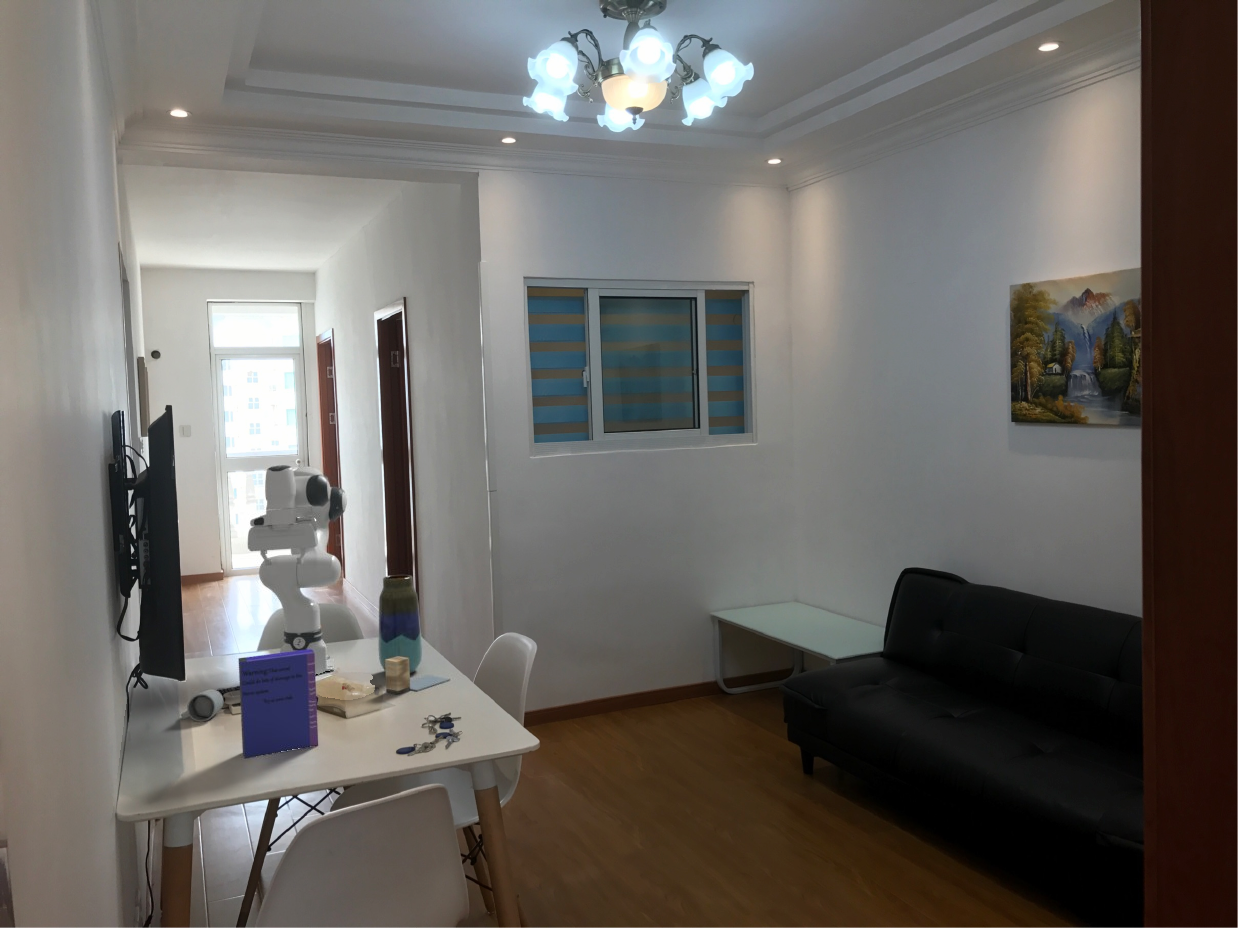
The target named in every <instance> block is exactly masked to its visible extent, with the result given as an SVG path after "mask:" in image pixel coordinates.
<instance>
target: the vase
mask: <svg viewBox="0 0 1238 928" xmlns="http://www.w3.org/2000/svg"><path fill="white" fill-rule="evenodd" d="M413 582H414V581H413V576H412V575H410V574H396V575H395V574H394V575H387V576H384V577H383V578H382V590H381V591H380V594H379V597H378V598H379V599H378V638H377V639H378V648H377V649H378V659H379V664H380V666H381V667H382V669H383V670H384V671H385V660H386V659H390V658H393V657H397V656H400V657H405V658H409V669H410V674H412V673H414V672H415V671H416V670H417V669H418V668H419V666H420V665H421V662H422V657H423V643H422V642H423V638H422V628H421V617H420V608H419V607H420V606H419V598H418V593H417V591H416V589H415V588H414V583H413Z"/></svg>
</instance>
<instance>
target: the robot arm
mask: <svg viewBox="0 0 1238 928" xmlns="http://www.w3.org/2000/svg"><path fill="white" fill-rule="evenodd" d="M264 484H265V486H264V489H265V491H264V493H265V499H266V508H265V514H264V515H263V514H262V515H260V516H258V517H255V518H252V519H250V521H249V525H250V527H251V528H249V530H248V534H247V549H248V550H249V551H250V552H260V556H261V557H262V559H263V561H262V563H261V564H260V566H259V569H258V570H259V571H258V577H259V579H260V582H261V584H262V585H263V586H265V588H267V589H269V590H270V591H271V592H272V593H274V595H275V596H276V597H277V598H278V600H279V602H280V604H281V608H282V611H283V619H284V631H283V642H284V644H283V645H282V646H281V647H280V649H279V653H284V652H292V651H299V650H307V649H312V650H313V651H314V654H315V676H317V675H316V674H318V675H321V674H320V673H322V674H324V673H323V672H325V671H329V670H333V669H334V670H335V659H334V657H330V656H329V655H328V647H327V644H326V642H325V641H324V640H323V638H324V637H323V628H322V625H321V610H320V609H321V608H320V606H319V604H318V602H316V601H315V600H314V599H312V598H310V597H307V596H305V595H304V594H303V592H302V591H301V589H307V588H308V589H309V588H311V589H312V588H323V587H328V586H331V585H335V584H336V583H337V582H339V579H340V577H341V574H342V565H341V561H340V560H339V559H338V557H337V556H335V555H333V554H331V553H329V552H327V551H326V550H327V546H328V543H329V538H330V537H329V535H330V529H329V526H330V525H329V524H330V522H332V523H335V522H337V520H338V519H339V518H340V517H342V515H343V514H344V513H345V511H346V508H347V506H348V505H347V504H348V498H347V494H346V492H345V490H344V489H343V488H342V487H338V486H331V485H330V481H329V477H328V476H326V475H324V474H323V472H322V471H320V469H319V468H316V467H314V466H300V467H299V468H297V469H295V470H294V469H293V467H292V466H291V465H288V464H287V465H286V464H285V465H284V464H283V465H280V464H279V465H272V466H270V467H268V468H267V469H266V473H265V482H264ZM277 550H278V551H279V550H290V554H280V555H275V556H271V557H268V556H267V555H268V551H277ZM325 673H326V672H325Z"/></svg>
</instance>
